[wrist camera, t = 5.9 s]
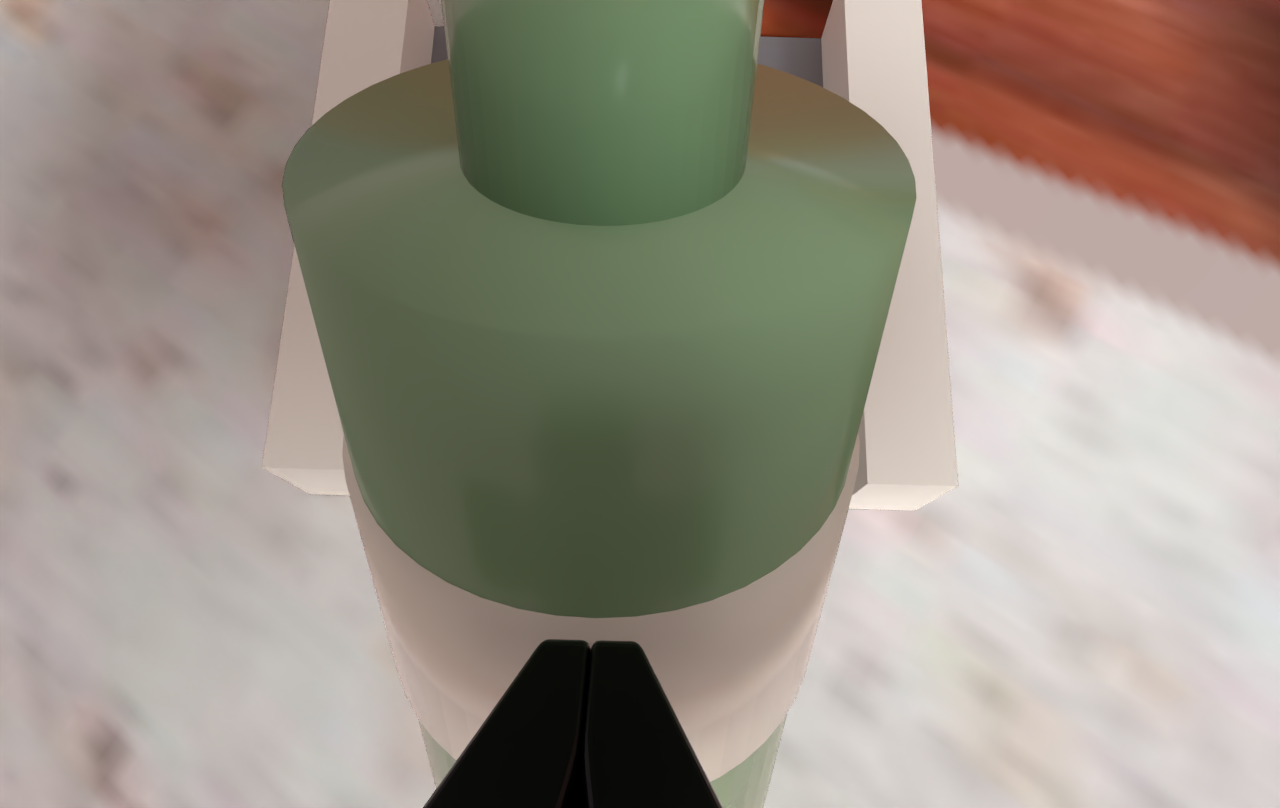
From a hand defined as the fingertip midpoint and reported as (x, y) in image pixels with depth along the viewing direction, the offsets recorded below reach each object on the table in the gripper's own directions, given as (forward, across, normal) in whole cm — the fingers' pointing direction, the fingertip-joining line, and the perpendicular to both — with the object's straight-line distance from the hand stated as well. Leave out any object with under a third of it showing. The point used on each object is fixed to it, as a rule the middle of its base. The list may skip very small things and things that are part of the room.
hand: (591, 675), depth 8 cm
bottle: (+5, 0, +7) cm, 8 cm away
